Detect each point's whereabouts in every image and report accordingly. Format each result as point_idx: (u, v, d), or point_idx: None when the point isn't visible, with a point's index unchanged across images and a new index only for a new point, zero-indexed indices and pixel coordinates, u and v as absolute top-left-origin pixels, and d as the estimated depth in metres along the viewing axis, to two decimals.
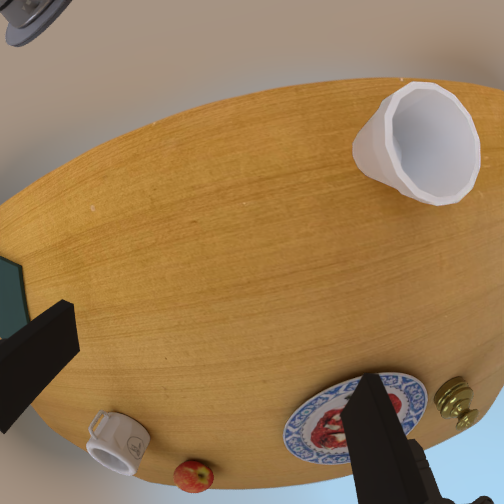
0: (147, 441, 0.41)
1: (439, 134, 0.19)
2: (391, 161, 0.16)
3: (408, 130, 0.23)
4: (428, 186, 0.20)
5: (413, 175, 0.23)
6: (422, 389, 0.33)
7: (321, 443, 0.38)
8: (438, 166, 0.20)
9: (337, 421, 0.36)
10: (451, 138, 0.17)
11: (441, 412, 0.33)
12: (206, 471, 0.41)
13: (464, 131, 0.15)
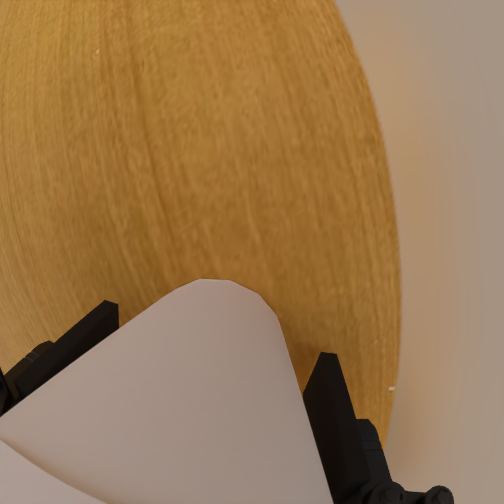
0: None
1: None
2: None
3: None
4: None
5: None
6: None
7: None
8: None
9: None
10: None
11: None
12: None
13: None
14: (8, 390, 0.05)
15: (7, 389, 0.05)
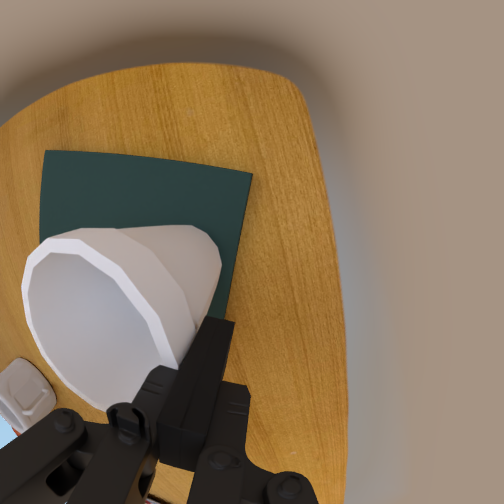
0: None
1: None
2: (37, 249, 0.09)
3: None
4: (89, 322, 0.15)
5: (134, 308, 0.19)
6: None
7: None
8: (127, 344, 0.16)
9: None
10: (147, 374, 0.13)
11: None
12: None
13: None
14: (150, 440, 0.06)
15: (150, 440, 0.05)
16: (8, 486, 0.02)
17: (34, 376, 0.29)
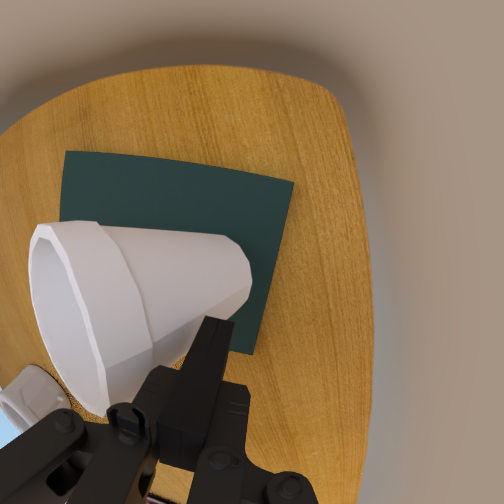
0: None
1: None
2: None
3: None
4: None
5: None
6: None
7: None
8: None
9: None
10: None
11: None
12: None
13: None
14: (150, 440, 0.06)
15: (150, 440, 0.05)
16: (8, 486, 0.02)
17: (48, 384, 0.29)
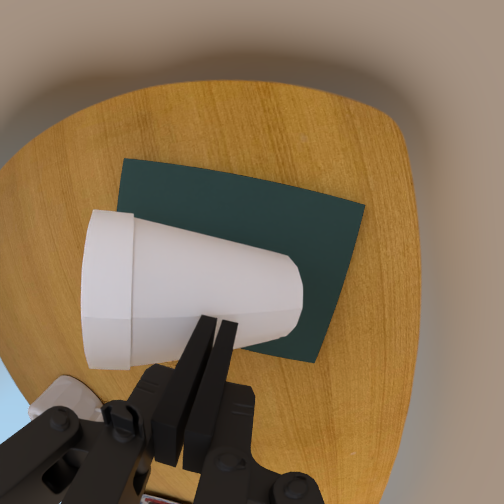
0: None
1: None
2: None
3: None
4: None
5: None
6: None
7: (154, 503, 0.41)
8: None
9: None
10: None
11: None
12: None
13: None
14: (145, 438, 0.06)
15: (144, 438, 0.06)
16: (5, 483, 0.02)
17: (85, 395, 0.31)
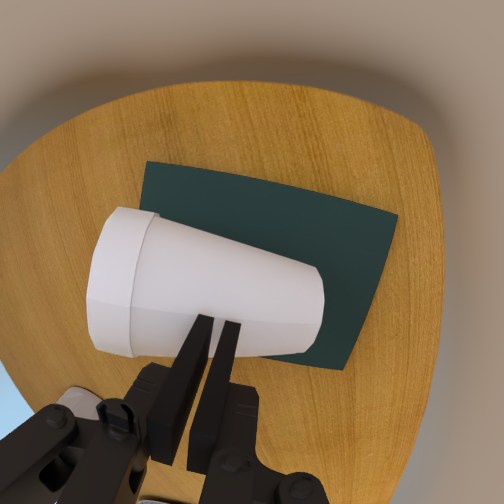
0: None
1: None
2: None
3: None
4: None
5: None
6: None
7: None
8: None
9: None
10: None
11: None
12: None
13: None
14: (140, 436, 0.06)
15: (139, 436, 0.06)
16: (2, 481, 0.02)
17: None
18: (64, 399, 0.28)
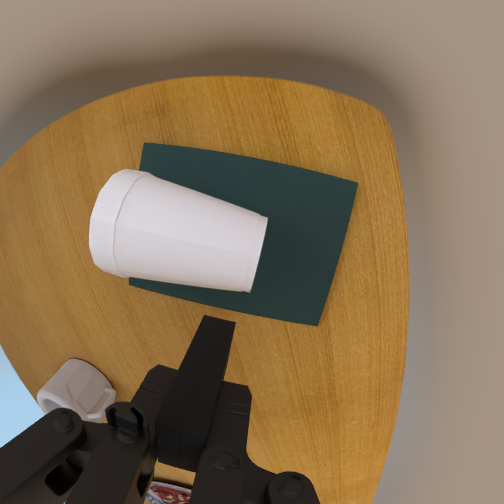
0: None
1: None
2: None
3: None
4: None
5: None
6: None
7: (159, 491, 0.44)
8: None
9: (186, 499, 0.44)
10: None
11: None
12: None
13: None
14: (149, 440, 0.06)
15: (149, 439, 0.05)
16: (7, 485, 0.02)
17: (95, 376, 0.33)
18: (62, 370, 0.31)
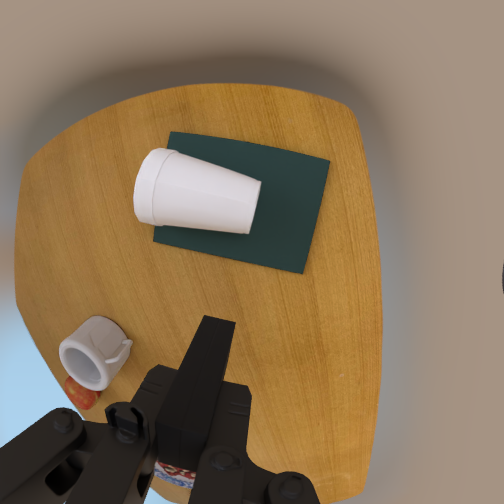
0: None
1: None
2: None
3: None
4: None
5: None
6: None
7: None
8: None
9: None
10: None
11: None
12: (96, 400, 0.47)
13: None
14: (149, 440, 0.06)
15: (149, 439, 0.05)
16: (7, 485, 0.02)
17: (114, 329, 0.42)
18: (84, 324, 0.40)
